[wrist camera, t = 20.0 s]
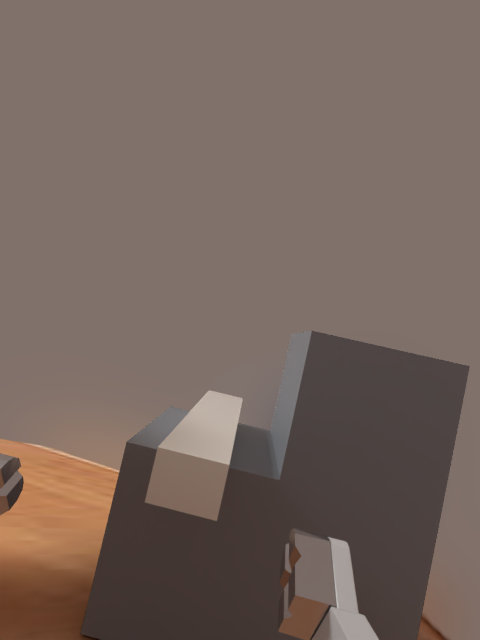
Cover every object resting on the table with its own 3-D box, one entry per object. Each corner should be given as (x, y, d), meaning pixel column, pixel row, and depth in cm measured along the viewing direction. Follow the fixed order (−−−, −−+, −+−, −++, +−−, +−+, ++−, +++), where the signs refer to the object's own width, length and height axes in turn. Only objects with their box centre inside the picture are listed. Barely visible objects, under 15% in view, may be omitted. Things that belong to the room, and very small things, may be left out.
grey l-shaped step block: (80, 633, 25) (161, 296, 27) (141, 529, 39) (193, 311, 41) (400, 724, 24) (469, 366, 25) (346, 583, 38) (393, 357, 39)
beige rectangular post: (144, 502, 18) (157, 446, 18) (203, 415, 39) (209, 390, 39) (216, 521, 18) (229, 464, 18) (236, 424, 39) (242, 398, 39)
